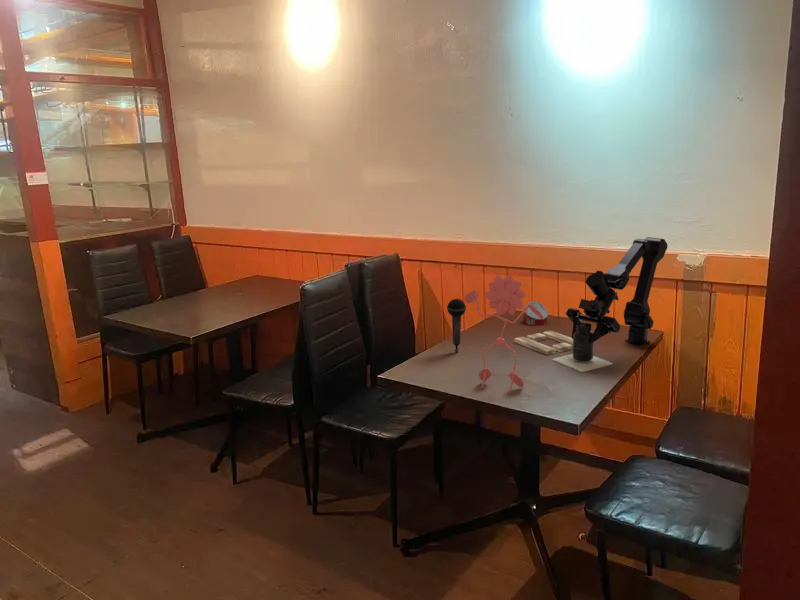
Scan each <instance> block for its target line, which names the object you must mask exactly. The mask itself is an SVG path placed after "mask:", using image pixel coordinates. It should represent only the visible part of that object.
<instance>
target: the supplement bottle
mask: <svg viewBox="0 0 800 600" xmlns="http://www.w3.org/2000/svg"><path fill="white" fill-rule="evenodd" d="M576 330H577V331H576V332H574V334H573V347H572V354H573V358H574V359H575V360H579V361H590V360H592V359H593V356H594V345H595V342H593V343H592V344H590V343H589V340H590V338H591V336H592V335H593V333H594V332H592V324H591V323H590V322H582V323H578V324H577V328H576Z"/></svg>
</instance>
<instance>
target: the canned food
mask: <svg viewBox="0 0 800 600" xmlns="http://www.w3.org/2000/svg"><path fill="white" fill-rule="evenodd" d="M528 303H530V304H531V305H532V306H534V307H535V308H536V309H537V310H538V311H539V312H540V313H541V314H542V315H543V318H544V320H542V319H541V318H540V317H538V316H537V315H536V314H535V313H533V312H532V311H531V309H530V308H529V307H528V308H527V309H526V311H525V312H524V313H523V314H522V316H523V317H522V319H523V320H522V321H523V322H524V323H525V324H524V323H523V322H522V323H523V324H524V325H527V326H532V325H534V327H536V326H535V325H541V326H545V325H547V324H548V315H549V314H548V313H549V312H548V310H547V308H546V307H545V306H544V305H543V304H542V302H539V301H536V300H532V301H529V302H528ZM528 303H526V305H525V307H524V309H525V308H526V307H527V305H528ZM544 324H545V325H544Z"/></svg>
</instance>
